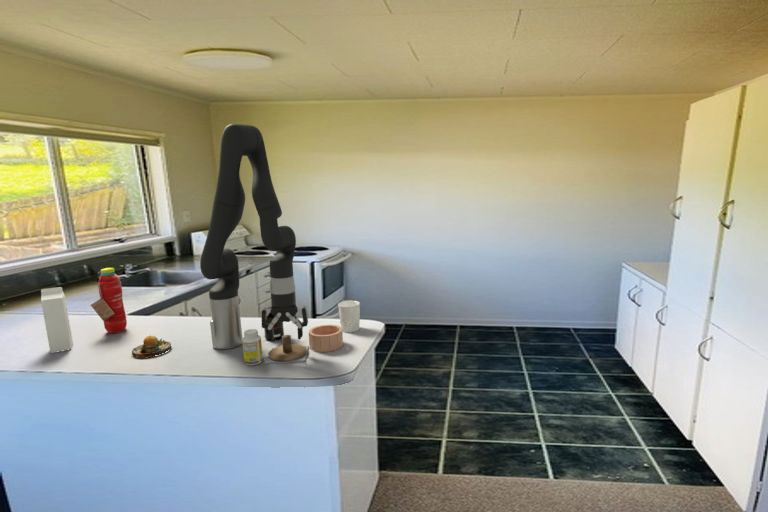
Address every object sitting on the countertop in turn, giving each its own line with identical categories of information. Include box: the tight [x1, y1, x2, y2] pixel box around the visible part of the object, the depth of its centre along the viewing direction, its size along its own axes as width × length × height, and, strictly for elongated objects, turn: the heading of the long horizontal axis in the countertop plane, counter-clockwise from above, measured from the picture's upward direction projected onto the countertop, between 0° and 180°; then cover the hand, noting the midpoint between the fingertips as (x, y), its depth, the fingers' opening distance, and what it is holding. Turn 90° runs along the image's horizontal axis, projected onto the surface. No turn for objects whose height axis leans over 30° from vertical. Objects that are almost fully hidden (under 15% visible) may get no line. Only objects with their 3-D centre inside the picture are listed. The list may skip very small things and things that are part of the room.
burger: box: [131, 335, 172, 359], centre depth 150 cm, size 12×12×8 cm
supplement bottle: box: [242, 328, 264, 366], centre depth 138 cm, size 6×6×10 cm
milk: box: [40, 286, 74, 354], centre depth 155 cm, size 6×6×22 cm
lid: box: [267, 334, 308, 362], centre depth 143 cm, size 12×12×6 cm
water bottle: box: [90, 267, 128, 334], centre depth 170 cm, size 12×8×25 cm, turn 164°
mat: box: [265, 345, 310, 365], centre depth 143 cm, size 12×12×1 cm
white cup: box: [337, 300, 361, 333], centre depth 165 cm, size 8×8×10 cm
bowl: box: [308, 324, 344, 353], centre depth 150 cm, size 11×11×6 cm
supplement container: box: [263, 306, 285, 342], centre depth 159 cm, size 7×7×10 cm
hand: (286, 339), depth 143 cm, fingers open, 8 cm apart
